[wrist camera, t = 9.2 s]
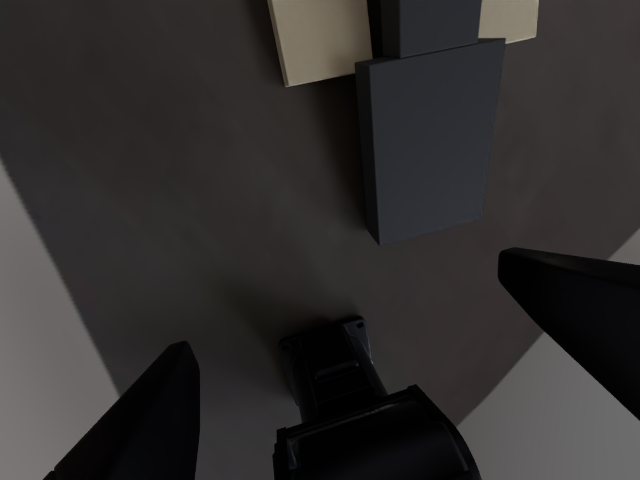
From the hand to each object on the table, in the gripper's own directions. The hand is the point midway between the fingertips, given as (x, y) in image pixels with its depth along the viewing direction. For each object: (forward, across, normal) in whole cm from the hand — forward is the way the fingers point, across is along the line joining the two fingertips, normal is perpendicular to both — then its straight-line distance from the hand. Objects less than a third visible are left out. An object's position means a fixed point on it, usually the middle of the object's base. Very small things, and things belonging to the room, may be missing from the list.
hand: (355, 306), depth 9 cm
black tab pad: (+11, -8, -4) cm, 14 cm away
